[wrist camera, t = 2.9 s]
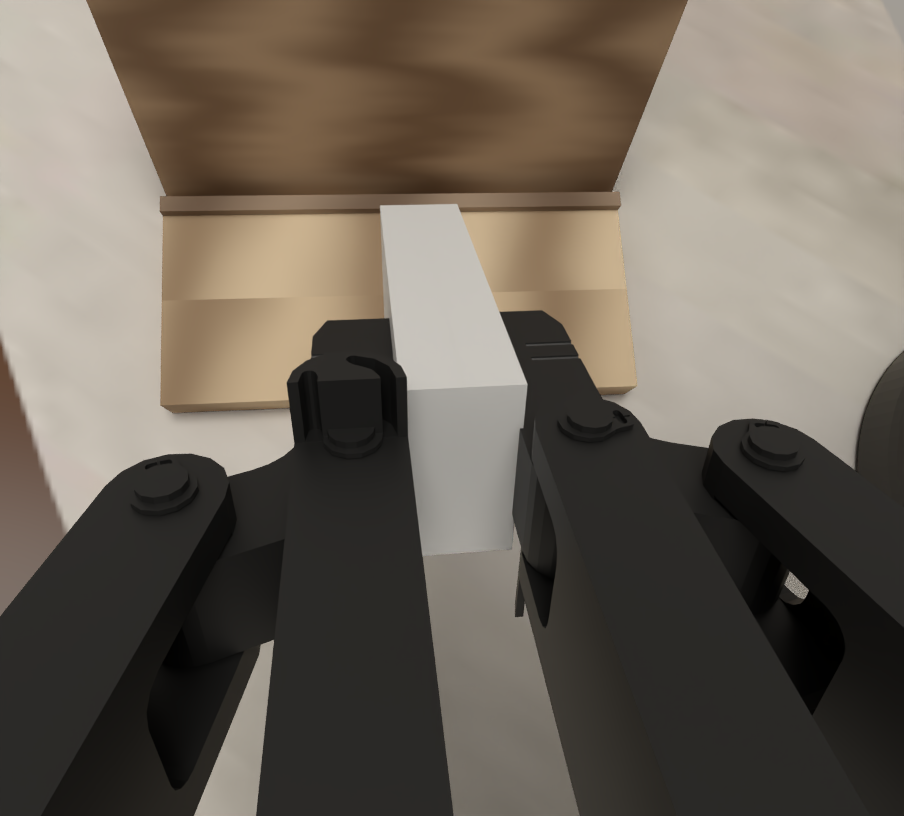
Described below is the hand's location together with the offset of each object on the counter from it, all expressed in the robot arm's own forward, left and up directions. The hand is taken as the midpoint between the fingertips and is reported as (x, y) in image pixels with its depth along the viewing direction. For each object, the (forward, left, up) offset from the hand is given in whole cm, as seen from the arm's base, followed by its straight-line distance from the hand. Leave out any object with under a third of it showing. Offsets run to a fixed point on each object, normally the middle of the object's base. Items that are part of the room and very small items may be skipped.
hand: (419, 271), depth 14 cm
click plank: (0, -9, -13) cm, 16 cm away
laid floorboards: (0, -4, -14) cm, 15 cm away
